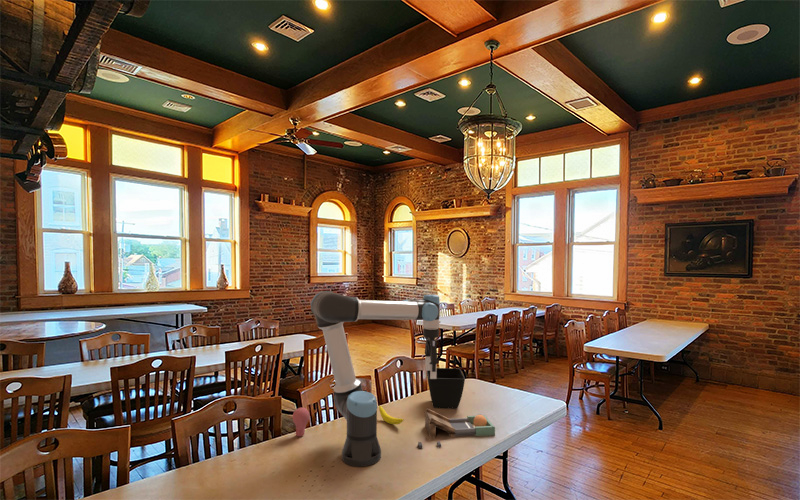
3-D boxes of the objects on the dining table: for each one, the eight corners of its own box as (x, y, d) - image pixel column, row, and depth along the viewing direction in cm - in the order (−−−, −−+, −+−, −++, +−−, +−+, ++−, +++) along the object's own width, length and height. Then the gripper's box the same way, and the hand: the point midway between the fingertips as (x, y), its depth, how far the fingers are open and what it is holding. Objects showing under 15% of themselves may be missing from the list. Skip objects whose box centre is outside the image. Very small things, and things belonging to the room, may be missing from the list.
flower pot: (465, 411, 197) (465, 378, 198) (428, 411, 197) (428, 377, 198) (460, 398, 216) (460, 368, 217) (426, 398, 216) (426, 367, 217)
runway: (454, 436, 168) (454, 429, 169) (448, 424, 180) (448, 418, 180) (476, 435, 170) (476, 428, 170) (468, 424, 182) (468, 417, 182)
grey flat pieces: (419, 448, 157) (419, 445, 157) (418, 445, 160) (418, 442, 160) (441, 447, 158) (441, 444, 158) (439, 444, 161) (439, 441, 161)
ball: (473, 421, 173) (485, 415, 173) (469, 416, 179) (481, 410, 179) (479, 433, 173) (491, 427, 173) (475, 428, 179) (486, 422, 179)
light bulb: (312, 435, 168) (312, 407, 169) (298, 441, 163) (298, 412, 163) (303, 431, 173) (303, 403, 174) (289, 436, 168) (289, 408, 168)
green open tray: (475, 435, 169) (475, 427, 169) (467, 423, 182) (467, 416, 182) (494, 435, 170) (494, 426, 170) (485, 422, 183) (485, 415, 183)
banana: (401, 431, 173) (401, 417, 173) (376, 418, 188) (376, 405, 188) (406, 429, 175) (406, 415, 175) (381, 416, 190) (381, 403, 190)
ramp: (429, 437, 167) (429, 418, 168) (424, 425, 179) (424, 408, 179) (456, 436, 169) (456, 417, 169) (450, 424, 181) (450, 407, 181)
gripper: (444, 332, 168) (444, 382, 167) (434, 324, 193) (433, 367, 192) (427, 332, 167) (427, 382, 166) (419, 324, 192) (418, 367, 191)
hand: (430, 374), depth 179 cm, fingers open, 13 cm apart
